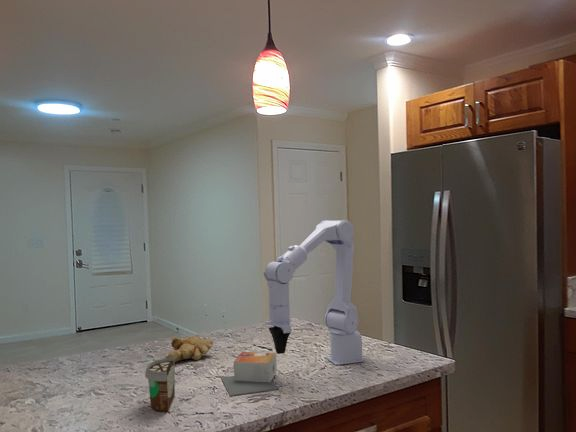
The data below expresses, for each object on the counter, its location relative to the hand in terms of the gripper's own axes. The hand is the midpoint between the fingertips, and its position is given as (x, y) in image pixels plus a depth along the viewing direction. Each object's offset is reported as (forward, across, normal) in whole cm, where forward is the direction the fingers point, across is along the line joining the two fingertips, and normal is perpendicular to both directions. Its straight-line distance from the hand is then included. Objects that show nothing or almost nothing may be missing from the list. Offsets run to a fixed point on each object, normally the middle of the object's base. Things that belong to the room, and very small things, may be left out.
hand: (280, 353), depth 131 cm
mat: (+7, 0, -9) cm, 12 cm away
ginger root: (+8, -32, -22) cm, 40 cm away
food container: (+8, +6, -33) cm, 35 cm away
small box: (+4, -1, -2) cm, 5 cm away
